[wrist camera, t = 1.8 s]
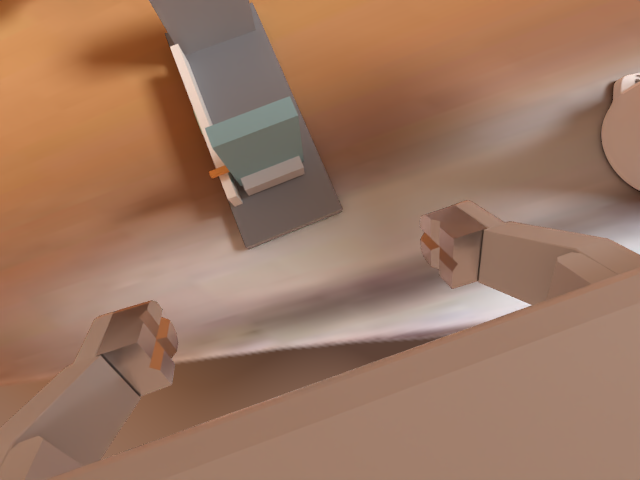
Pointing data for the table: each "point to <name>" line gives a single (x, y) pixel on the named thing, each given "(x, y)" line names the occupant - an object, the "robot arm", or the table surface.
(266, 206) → the bench
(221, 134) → the block
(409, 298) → the table surface
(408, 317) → the table surface
